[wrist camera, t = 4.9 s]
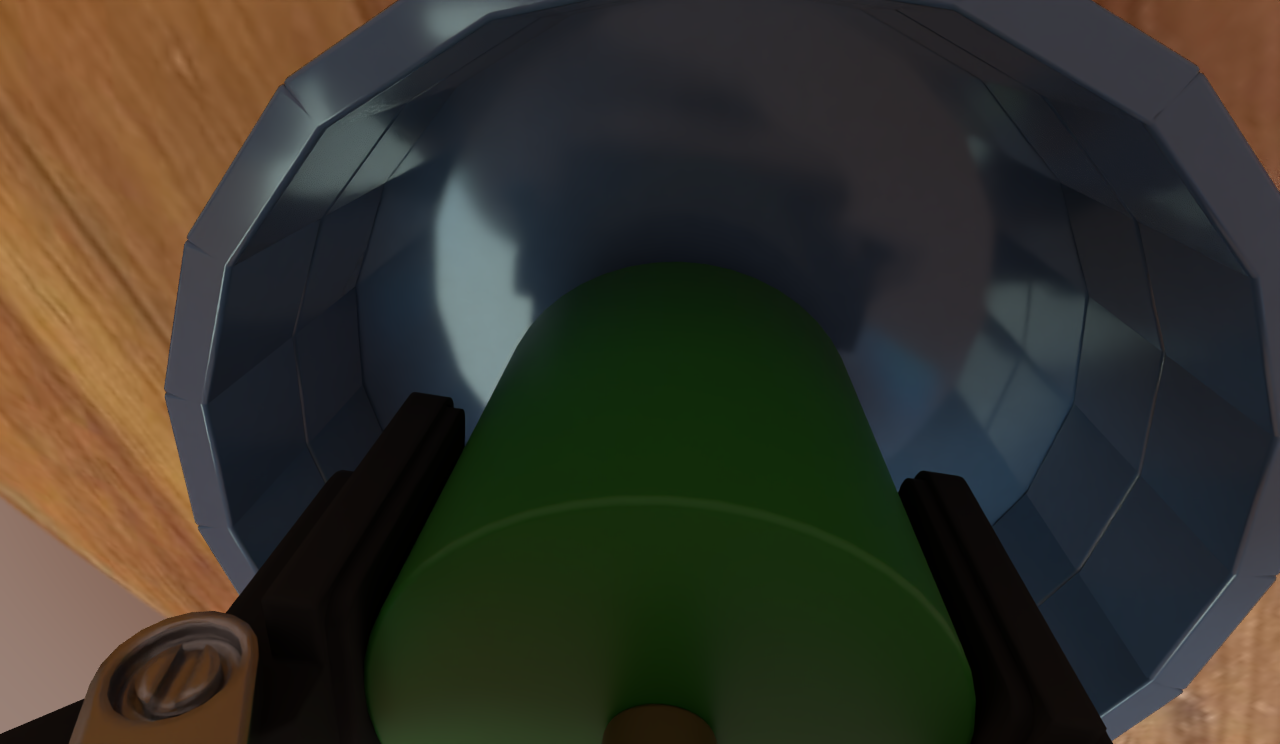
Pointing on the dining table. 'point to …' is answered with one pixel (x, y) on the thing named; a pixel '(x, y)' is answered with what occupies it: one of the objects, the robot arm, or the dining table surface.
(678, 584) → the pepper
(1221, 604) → the serving bowl
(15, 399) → the dining table surface
